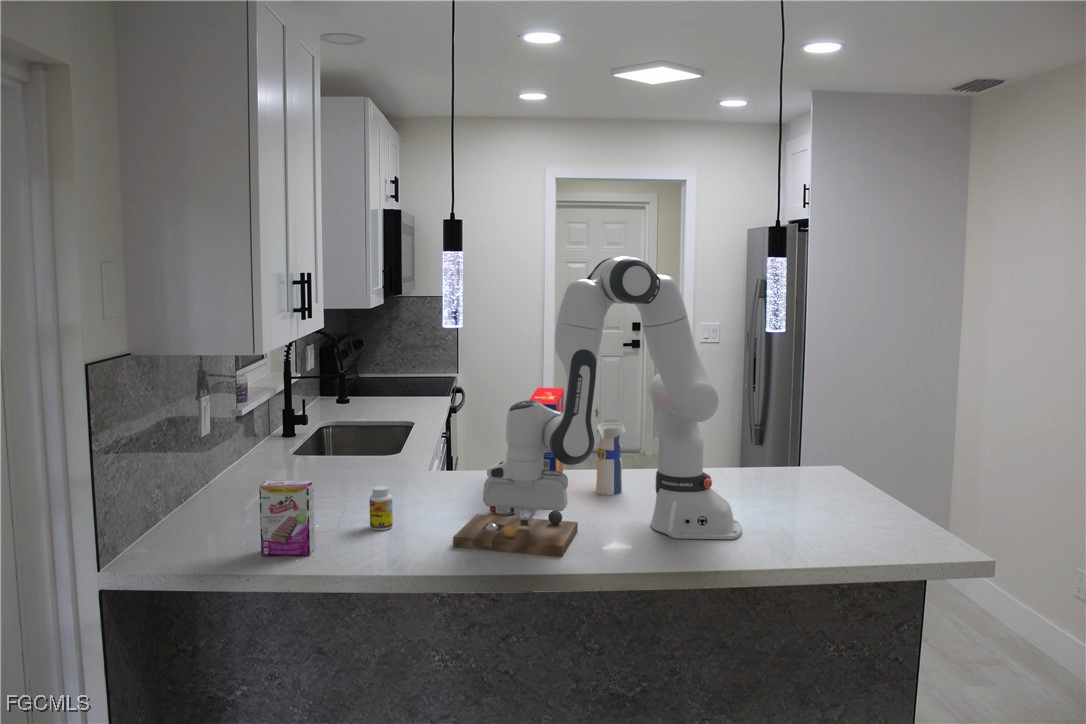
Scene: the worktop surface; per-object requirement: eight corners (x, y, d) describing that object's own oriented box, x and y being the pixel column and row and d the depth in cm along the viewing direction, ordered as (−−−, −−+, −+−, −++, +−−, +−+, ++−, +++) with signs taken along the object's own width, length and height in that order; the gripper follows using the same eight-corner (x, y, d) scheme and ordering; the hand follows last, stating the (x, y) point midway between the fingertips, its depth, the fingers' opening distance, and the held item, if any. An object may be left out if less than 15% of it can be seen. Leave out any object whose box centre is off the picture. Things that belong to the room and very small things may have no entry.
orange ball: (518, 535, 200) (518, 523, 199) (514, 540, 197) (514, 527, 196) (505, 534, 200) (505, 522, 200) (502, 539, 198) (502, 526, 197)
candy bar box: (260, 557, 192) (257, 485, 190) (266, 549, 197) (264, 480, 195) (310, 556, 192) (308, 485, 190) (315, 549, 197) (313, 479, 195)
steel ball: (503, 528, 207) (494, 518, 208) (499, 533, 204) (489, 523, 204) (494, 537, 208) (484, 527, 208) (489, 542, 205) (480, 531, 205)
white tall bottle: (609, 497, 241) (610, 409, 238) (588, 490, 248) (589, 405, 245) (630, 492, 246) (631, 406, 243) (609, 485, 253) (610, 402, 250)
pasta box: (555, 505, 233) (556, 404, 230) (526, 504, 234) (526, 403, 230) (562, 478, 261) (563, 388, 257) (536, 478, 261) (537, 387, 258)
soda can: (512, 518, 222) (512, 472, 220) (487, 516, 223) (486, 471, 221) (518, 510, 228) (518, 466, 227) (493, 508, 229) (493, 465, 228)
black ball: (563, 522, 210) (563, 509, 210) (560, 526, 207) (560, 513, 206) (549, 521, 211) (550, 508, 210) (546, 525, 207) (546, 512, 207)
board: (577, 531, 211) (577, 521, 210) (562, 556, 193) (562, 545, 193) (476, 523, 217) (476, 514, 216) (453, 547, 199) (453, 536, 199)
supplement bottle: (365, 529, 212) (364, 488, 211) (380, 523, 217) (379, 483, 215) (382, 532, 209) (382, 492, 208) (397, 526, 214) (396, 486, 213)
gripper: (570, 468, 203) (570, 524, 205) (488, 463, 208) (489, 518, 210) (564, 475, 197) (564, 532, 199) (480, 470, 202) (481, 526, 204)
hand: (525, 525), depth 205 cm, fingers closed
